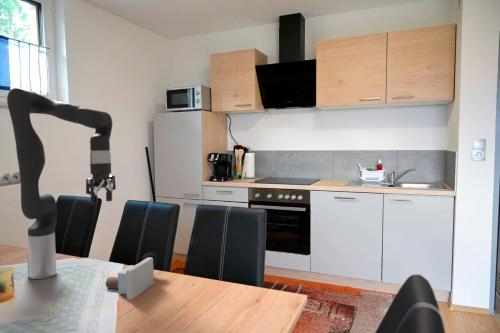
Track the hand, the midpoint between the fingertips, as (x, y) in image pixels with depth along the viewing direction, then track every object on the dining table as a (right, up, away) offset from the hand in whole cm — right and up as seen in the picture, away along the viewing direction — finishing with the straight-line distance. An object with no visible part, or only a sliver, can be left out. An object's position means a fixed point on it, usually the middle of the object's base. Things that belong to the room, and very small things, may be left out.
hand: (102, 202), depth 133 cm
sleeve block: (+15, -31, -10) cm, 36 cm away
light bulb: (+19, -30, +1) cm, 35 cm away
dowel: (+11, -31, -9) cm, 34 cm away
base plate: (+18, -31, -11) cm, 37 cm away
